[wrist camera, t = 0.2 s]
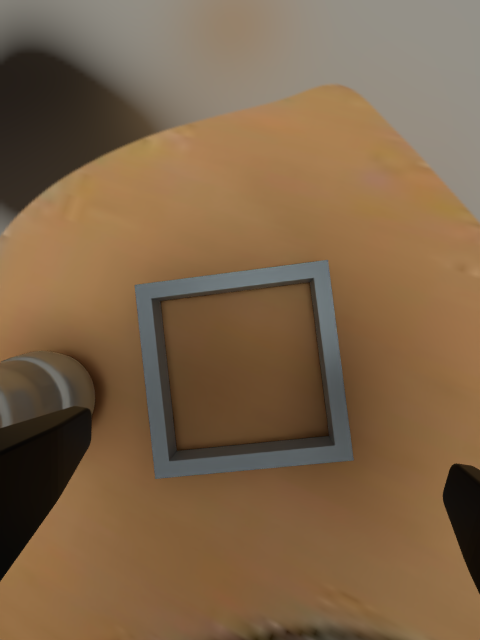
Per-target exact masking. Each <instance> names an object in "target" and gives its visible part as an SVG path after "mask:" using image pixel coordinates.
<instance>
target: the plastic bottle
mask: <svg viewBox="0 0 480 640" xmlns="http://www.w3.org/2000/svg"><path fill="white" fill-rule="evenodd" d="M72 406H79V407H86V408H89V409H90V410H91V414H93V411H94V406H95V389H94V385H93V381H92V379H91V377H90V375H89V373H88V372H87V370H86V369H85V368H84V366H83V365H81V364H80V363H79V362H78V361H77V360H75V359H74V358H72V357H70V356H67V355H64V354H60V353H55V352H49V351H34V352H29V353H26V354H22V355H18V356H15V357H12V358H9V359H7V360H4V361H2V362H0V428H2V427H6V426H9V425H12V424H16V423H19V422H22V421H26V420H29V419H32V418H36V417H39V416H42V415H46V414H49V413H52V412H55V411H59V410H62V409H65V408H69V407H72Z"/></svg>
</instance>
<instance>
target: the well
mask: <svg viewBox="0 0 480 640" xmlns="http://www.w3.org/2000/svg"><path fill="white" fill-rule="evenodd" d="M307 282H310V288H311V296H312V303H313V311H314V319H315V327H316V335H317V343H318V351H319V359H320V367H321V375H322V382H323V390H324V398H325V406H326V414H327V422H328V430H329V436H324V437H314V438H304V439H293V440H283V441H273V442H263V443H252V444H242V445H232V446H222V447H212V448H201V449H191V450H181V451H177V448H176V439H175V430H174V421H173V412H172V403H171V394H170V385H169V375H168V366H167V357H166V348H165V339H164V330H163V321H162V312H161V302H160V301H164V300H172V299H180V298H188V297H196V296H204V295H211V294H219V293H227V292H235V291H243V290H251V289H259V288H267V287H275V286H283V285H291V284H299V283H307ZM135 293H136V302H137V311H138V321H139V330H140V339H141V349H142V358H143V367H144V377H145V386H146V395H147V405H148V414H149V423H150V433H151V442H152V452H153V461H154V470H155V479H158V478H169V477H180V476H191V475H201V474H212V473H223V472H234V471H244V470H255V469H266V468H277V467H287V466H298V465H309V464H320V463H330V462H341V461H352V460H354V459H353V451H352V444H351V436H350V428H349V420H348V413H347V405H346V397H345V389H344V382H343V374H342V366H341V358H340V351H339V343H338V335H337V327H336V320H335V312H334V304H333V296H332V288H331V281H330V273H329V265H328V260H324V261H316V262H308V263H301V264H293V265H285V266H278V267H270V268H262V269H254V270H247V271H239V272H231V273H224V274H216V275H208V276H201V277H193V278H185V279H177V280H170V281H162V282H154V283H147V284H139V285H135Z"/></svg>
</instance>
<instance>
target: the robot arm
mask: <svg viewBox="0 0 480 640" xmlns="http://www.w3.org/2000/svg"><path fill="white" fill-rule="evenodd" d="M91 422H92V414H91V410H90V409H89V408H86V407H79V406H72V407H69V408H65V409H62V410H59V411H55V412H52V413H49V414H46V415H42V416H39V417H36V418H32V419H29V420H26V421H22V422H19V423H16V424H12V425H9V426H6V427H2V428H0V581H1V580H2V578H3V577H4V575H5V574H6V573H7V571H8V570H9V568H10V567H11V566H12V564H13V563H14V561H15V560H16V559H17V557H18V556H19V554H20V553H21V551H22V550H23V549H24V547H25V546H26V544H27V543H28V542H29V540H30V539H31V537H32V536H33V535H34V533H35V532H36V530H37V529H38V528H39V526H40V525H41V523H42V522H43V521H44V519H45V518H46V516H47V515H48V514H49V512H50V511H51V509H52V508H53V507H54V505H55V504H56V502H57V501H58V499H59V497H60V496H61V494H62V493H63V491H64V489H65V487H66V486H67V484H68V482H69V480H70V479H71V477H72V475H73V473H74V472H75V470H76V468H77V466H78V465H79V463H80V461H81V459H82V458H83V456H84V454H85V452H86V451H87V449H88V447H89V445H90V441H91ZM443 502H444V505H445V508H446V511H447V514H448V516H449V519H450V522H451V524H452V527H453V530H454V533H455V535H456V538H457V541H458V544H459V546H460V549H461V552H462V555H463V557H464V560H465V562H466V565H467V567H468V570H469V572H470V574H471V577H472V579H473V581H474V583H475V585H476V587H477V589H478V592H479V594H480V470H479V469H477V468H475V467H473V466H470V465H464V464H453V465H452V466H451V468H450V470H449V474H448V477H447V480H446V484H445V487H444V491H443Z"/></svg>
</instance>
